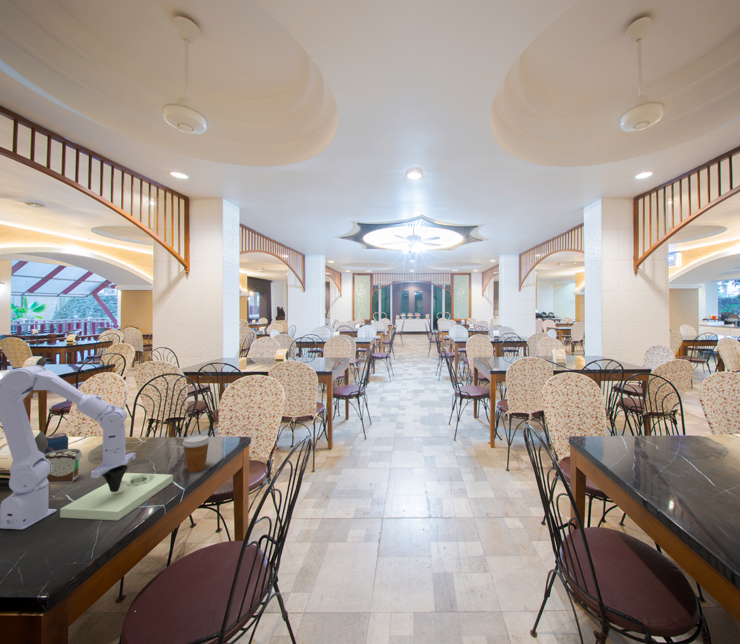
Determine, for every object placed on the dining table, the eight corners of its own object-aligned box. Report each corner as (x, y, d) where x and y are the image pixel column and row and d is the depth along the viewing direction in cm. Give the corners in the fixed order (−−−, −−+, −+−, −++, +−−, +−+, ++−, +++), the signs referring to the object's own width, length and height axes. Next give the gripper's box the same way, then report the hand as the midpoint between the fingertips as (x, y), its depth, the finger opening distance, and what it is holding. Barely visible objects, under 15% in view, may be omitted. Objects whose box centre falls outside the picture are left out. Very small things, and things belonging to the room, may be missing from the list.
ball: (116, 489, 105) (126, 478, 108) (104, 487, 105) (115, 476, 109) (120, 497, 107) (130, 486, 110) (109, 495, 107) (119, 484, 111)
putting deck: (117, 520, 97) (117, 511, 97) (60, 517, 98) (60, 508, 99) (172, 481, 121) (172, 474, 121) (125, 479, 122) (125, 472, 122)
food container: (90, 474, 126) (91, 448, 126) (77, 482, 120) (77, 454, 120) (57, 475, 126) (57, 448, 126) (41, 482, 120) (41, 454, 120)
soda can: (39, 468, 132) (39, 437, 132) (59, 461, 138) (59, 432, 139) (52, 470, 130) (53, 439, 130) (72, 463, 137) (72, 433, 137)
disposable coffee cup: (179, 475, 126) (179, 443, 126) (186, 465, 135) (186, 435, 135) (207, 472, 129) (207, 441, 129) (211, 462, 138) (212, 433, 138)
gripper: (106, 456, 99) (106, 503, 99) (143, 439, 113) (144, 480, 113) (84, 456, 99) (84, 502, 99) (124, 439, 114) (124, 479, 114)
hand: (114, 490), depth 106 cm, fingers closed, pressing on ball
